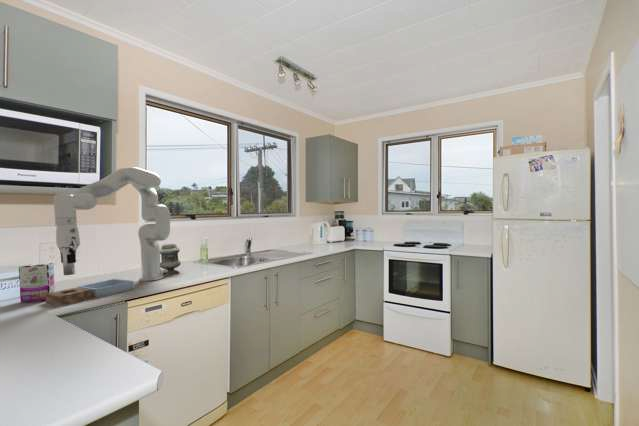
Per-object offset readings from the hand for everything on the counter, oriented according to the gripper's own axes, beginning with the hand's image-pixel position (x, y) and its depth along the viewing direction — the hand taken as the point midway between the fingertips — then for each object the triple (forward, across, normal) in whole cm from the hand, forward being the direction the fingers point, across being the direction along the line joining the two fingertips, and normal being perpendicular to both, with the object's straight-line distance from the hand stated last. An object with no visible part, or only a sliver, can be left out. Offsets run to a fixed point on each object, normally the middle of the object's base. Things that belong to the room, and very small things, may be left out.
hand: (68, 262), depth 143 cm
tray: (+17, 0, -15) cm, 23 cm away
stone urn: (+18, +9, -59) cm, 63 cm away
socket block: (+17, 0, +1) cm, 17 cm away
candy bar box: (+17, +15, +6) cm, 23 cm away
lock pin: (+5, 0, 0) cm, 5 cm away
